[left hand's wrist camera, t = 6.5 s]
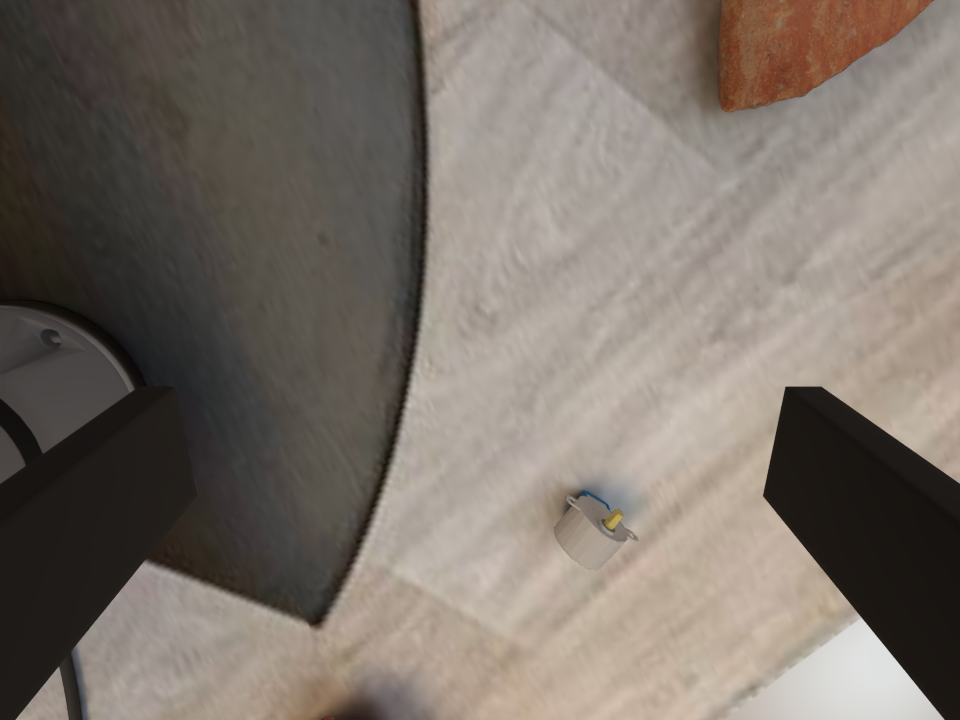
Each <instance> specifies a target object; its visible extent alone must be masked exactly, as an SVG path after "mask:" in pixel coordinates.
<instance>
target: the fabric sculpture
mask: <svg viewBox="0 0 960 720" xmlns="http://www.w3.org/2000/svg"><path fill="white" fill-rule="evenodd" d="M322 720H335V719H334V718H333V717H331V716H329V717H326V718H324V719H322Z"/></svg>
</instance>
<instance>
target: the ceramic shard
mask: <svg viewBox="0 0 960 720" xmlns="http://www.w3.org/2000/svg"><path fill="white" fill-rule="evenodd" d="M932 1H934V0H722V2H721V21H720V27H719V95H718V97H719V102H720V106H721V108H722V110H723V111H724V112H734V111H736V110H744V109H748V108H749V109H755V108H757V107H760V106H767V105H769V104H771V103H774V102H777V101H781V100H786V99H790V98H794V97H802V96H805V95H806V94H807V93H808V92H809V91H810V90H812V89H813V88H816V87H818V86H819V85H821V84H822V83H823V82H825V81H827V80H828V79H830V78H832V77H833V76H835V75H837V74H839V73H840V72H842V71H844V70H845V69H846V68H847V67H848V66H850V65H851V64H852V63H853V62H854V61H856V60H857V59H858V58H860V57H862V56H864V55H865V54H867V53H868V52H869V51H871V50H872V49H873V48H876V47H878V46H881V45H882V44H884V43H886V42H887V41H889V40H890V39H891V38H893V37H894V36H895V35H896V34H898V33H899V32H900V31H901V30H902V29H903V28H904V27H905V26H906V25H907V24H909V23H910V22H911V21H912V20H913V19H914V18H915V17H917V16H918V15H919V14H920V13H921V12H922V11H923V10H924V9H925V8H926V7H927V6H928V5H929V4H930V3H931V2H932Z"/></svg>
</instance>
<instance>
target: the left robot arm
mask: <svg viewBox="0 0 960 720" xmlns="http://www.w3.org/2000/svg"><path fill="white" fill-rule="evenodd" d="M196 497H197V494H196V489H195V484H194V479H193V474H192V469H191V465H190V460H189V455H188V450H187V445H186V440H185V436H184V431H183V426H182V421H181V416H180V411H179V406H178V402H177V397H176V392H175V387H138V388H136V389H135V390H133V391H132V392H130V393H129V394H128V395H126V396H125V397H123V398H122V399H120V400H119V401H118V402H116V403H115V404H113V405H112V406H110V407H109V408H108V409H106V410H105V411H103V412H102V413H100V414H99V415H98V416H96V417H95V418H93V419H92V420H90V421H89V422H88V423H86V424H85V425H83V426H82V427H81V428H79V429H78V430H76V431H75V432H73V433H72V434H71V435H69V436H68V437H66V438H65V439H63V440H62V441H61V442H59V443H58V444H56V445H55V446H53V447H52V448H51V449H49V450H48V451H46V452H45V453H43V454H42V455H41V456H39V457H38V458H36V459H35V460H33V461H32V462H31V463H29V464H28V465H26V466H25V467H23V468H22V469H21V470H19V471H18V472H16V473H15V474H13V475H12V476H11V477H9V478H8V479H6V480H5V481H3V482H2V483H1V484H0V720H15V719H16V718H17V717H18V716H19V715H20V713H21V712H22V711H23V710H24V708H25V707H26V706H27V705H28V703H29V702H30V701H31V700H32V699H33V697H34V696H35V695H36V694H37V692H38V691H39V690H40V689H41V687H42V686H43V685H44V684H45V683H46V681H47V680H48V679H49V678H50V676H51V675H52V674H53V673H54V671H55V670H56V669H57V668H58V667H59V665H60V664H61V663H62V662H63V660H64V659H65V658H66V657H67V655H68V654H69V653H70V652H71V651H72V649H73V648H74V647H75V646H76V644H77V643H78V642H79V641H80V639H81V638H82V637H83V636H84V635H85V633H86V632H87V631H88V630H89V628H90V627H91V626H92V625H93V623H94V622H95V621H96V620H97V619H98V617H99V616H100V615H101V614H102V612H103V611H104V610H105V609H106V607H107V606H108V605H109V604H110V603H111V601H112V600H113V599H114V598H115V596H116V595H117V594H118V593H119V591H120V590H121V589H122V588H123V586H124V585H125V584H126V583H127V582H128V580H129V579H130V578H131V577H132V575H133V574H134V573H135V572H136V570H137V569H138V568H139V567H140V566H141V564H142V563H143V562H144V561H145V559H146V558H147V557H148V556H149V554H150V553H151V552H152V551H153V550H154V548H155V547H156V546H157V545H158V543H159V542H160V541H161V540H162V538H163V537H164V536H165V535H166V534H167V532H168V531H169V530H170V529H171V527H172V526H173V525H174V524H175V522H176V521H177V520H178V519H179V518H180V516H181V515H182V514H183V513H184V511H185V510H186V509H187V508H188V506H189V505H190V504H191V503H192V502H193V500H194V499H195V498H196ZM763 497H764V498H765V499H766V500H767V502H768V503H769V504H770V505H771V506H772V508H773V509H774V510H775V511H776V513H777V514H778V515H779V516H780V518H781V519H782V520H783V521H784V522H785V524H786V525H787V526H788V527H789V529H790V530H791V531H792V532H793V534H794V535H795V536H796V537H797V538H798V540H799V541H800V542H801V543H802V545H803V546H804V547H805V548H806V550H807V551H808V552H809V553H810V554H811V556H812V557H813V558H814V559H815V561H816V562H817V563H818V564H819V566H820V567H821V568H822V569H823V570H824V572H825V573H826V574H827V575H828V577H829V578H830V579H831V580H832V582H833V583H834V584H835V585H836V586H837V588H838V589H839V590H840V591H841V593H842V594H843V595H844V596H845V598H846V599H847V600H848V601H849V603H850V604H851V605H852V606H853V607H854V609H855V610H856V611H857V612H858V614H859V615H860V616H861V617H862V619H863V620H864V621H865V622H866V623H867V625H868V626H869V627H870V628H871V630H872V631H873V632H874V633H875V635H876V636H877V637H878V638H879V639H880V641H881V642H882V643H883V644H884V646H885V647H886V648H887V649H888V651H889V652H890V653H891V654H892V655H893V657H894V658H895V659H896V660H897V662H898V663H899V664H900V665H901V667H902V668H903V669H904V670H905V671H906V673H907V674H908V675H909V676H910V678H911V679H912V680H913V681H914V683H915V684H916V685H917V686H918V687H919V689H920V690H921V691H922V692H923V694H924V695H925V696H926V697H927V699H928V700H929V701H930V702H931V703H932V705H933V706H934V707H935V708H936V710H937V711H938V712H939V713H940V715H941V716H942V717H943V718H944V720H960V484H959V483H958V482H957V481H955V480H954V479H952V478H951V477H949V476H948V475H947V474H945V473H944V472H942V471H941V470H939V469H938V468H937V467H935V466H934V465H932V464H931V463H929V462H928V461H927V460H925V459H924V458H922V457H921V456H919V455H918V454H917V453H915V452H914V451H912V450H911V449H909V448H908V447H907V446H905V445H904V444H902V443H901V442H899V441H898V440H897V439H895V438H894V437H892V436H891V435H889V434H888V433H887V432H885V431H884V430H882V429H881V428H879V427H878V426H877V425H875V424H874V423H872V422H871V421H870V420H868V419H867V418H865V417H864V416H862V415H861V414H860V413H858V412H857V411H855V410H854V409H852V408H851V407H850V406H848V405H847V404H845V403H844V402H842V401H841V400H840V399H838V398H837V397H835V396H834V395H832V394H831V393H830V392H828V391H827V390H825V389H824V388H822V387H785V392H784V397H783V402H782V406H781V411H780V416H779V421H778V426H777V431H776V435H775V440H774V445H773V450H772V455H771V460H770V465H769V469H768V474H767V479H766V484H765V489H764V494H763Z"/></svg>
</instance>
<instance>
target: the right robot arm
mask: <svg viewBox="0 0 960 720" xmlns="http://www.w3.org/2000/svg"><path fill="white" fill-rule="evenodd" d="M138 387H146V386H145V384H144V382H143V379H142V377H141V375H140V373H139V372H138V370H137V368H136V366H135V365H134V363H133V362H132V360H131V359H130V358H129V356H128V355H127V354H126V353H125V351H124V350H123V349H122V348H121V347H120V346H119V345H118V344H117V343H116V342H115V341H114V340H113V339H112V338H111V337H110V336H109V335H108V334H106V333H105V332H104V331H103V330H101V329H100V328H99V327H97V326H96V325H94V324H93V323H91V322H90V321H88V320H86V319H84V318H83V317H81V316H79V315H77V314H75V313H73V312H71V311H68V310H65V309H63V308H60V307H57V306H54V305H50V304H46V303H41V302H36V301H27V300H12V301H2V302H0V484H1V483H2V482H3V481H5V480H6V479H8V478H9V477H11V476H12V475H13V474H15V473H16V472H18V471H19V470H21V469H22V468H23V467H25V466H26V465H28V464H29V463H31V462H32V461H33V460H35V459H36V458H38V457H39V456H41V455H42V454H43V453H45V452H46V451H48V450H49V449H51V448H52V447H53V446H55V445H56V444H58V443H59V442H61V441H62V440H63V439H65V438H66V437H68V436H69V435H71V434H72V433H73V432H75V431H76V430H78V429H79V428H81V427H82V426H83V425H85V424H86V423H88V422H89V421H90V420H92V419H93V418H95V417H96V416H98V415H99V414H100V413H102V412H103V411H105V410H106V409H108V408H109V407H110V406H112V405H113V404H115V403H116V402H118V401H119V400H120V399H122V398H123V397H125V396H126V395H128V394H129V393H130V392H132V391H133V390H135V389H136V388H138ZM59 668H60V672H61V676H62V681H63V686H64V691H65V697H66V703H67V710H68V716H69V720H82V718H81V710H80V703H79V697H78V690H77V684H76V679H75V674H74V669H73V665H72V660H71V656H70V653H69V654H68V655H67V657H66V658H65V659H64V660H63V662H62V663H61V664H60V665H59Z"/></svg>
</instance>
